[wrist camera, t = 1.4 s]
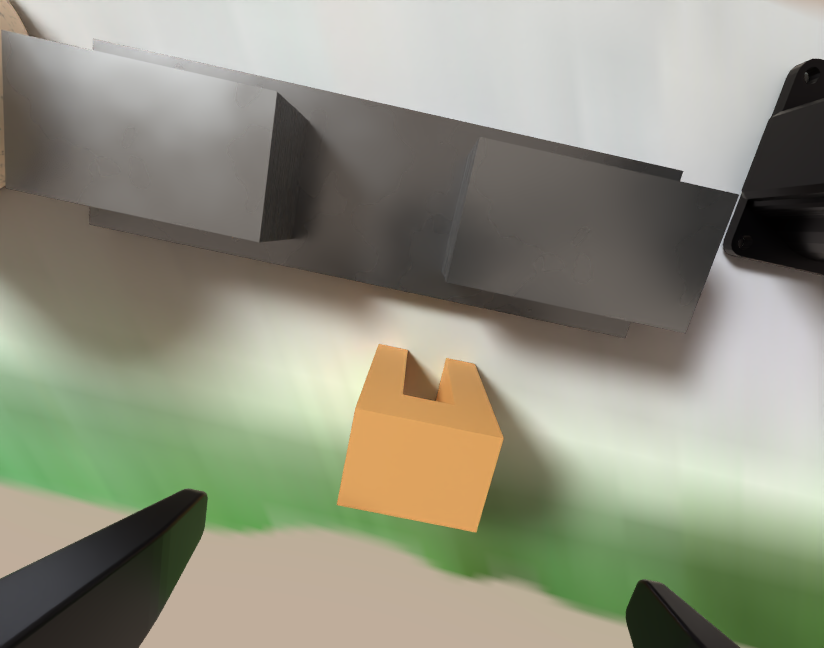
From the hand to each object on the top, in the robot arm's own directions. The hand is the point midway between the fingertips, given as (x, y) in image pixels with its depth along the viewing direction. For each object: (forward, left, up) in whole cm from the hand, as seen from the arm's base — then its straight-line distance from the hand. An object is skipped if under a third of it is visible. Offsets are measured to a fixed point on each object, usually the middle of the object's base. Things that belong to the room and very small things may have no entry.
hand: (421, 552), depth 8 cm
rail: (+3, -7, -9) cm, 12 cm away
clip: (0, 0, -9) cm, 9 cm away
